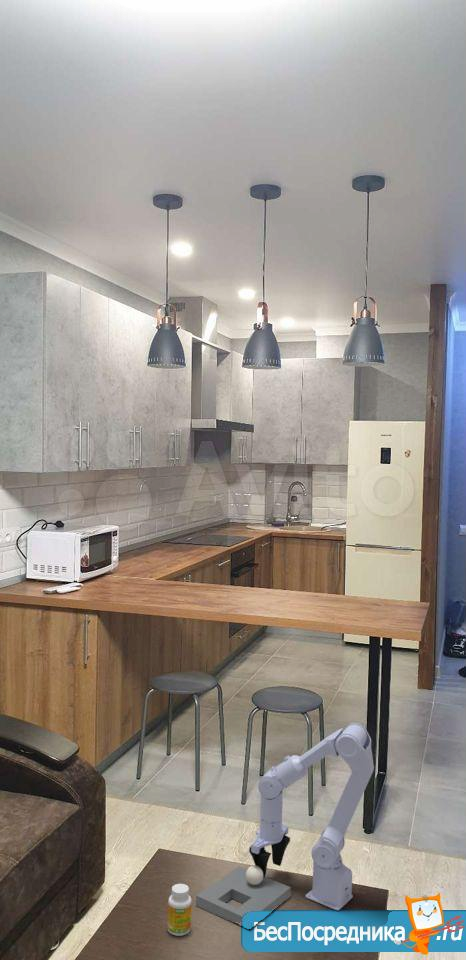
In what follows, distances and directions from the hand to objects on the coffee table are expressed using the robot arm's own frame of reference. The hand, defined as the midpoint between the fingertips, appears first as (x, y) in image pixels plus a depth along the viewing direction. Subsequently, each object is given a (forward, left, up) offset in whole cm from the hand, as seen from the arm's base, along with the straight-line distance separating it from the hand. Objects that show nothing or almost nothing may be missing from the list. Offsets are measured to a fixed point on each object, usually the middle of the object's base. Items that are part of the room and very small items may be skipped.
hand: (269, 870), depth 202 cm
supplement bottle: (+5, +30, -3) cm, 31 cm away
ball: (0, +7, +2) cm, 7 cm away
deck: (0, +11, -3) cm, 12 cm away
